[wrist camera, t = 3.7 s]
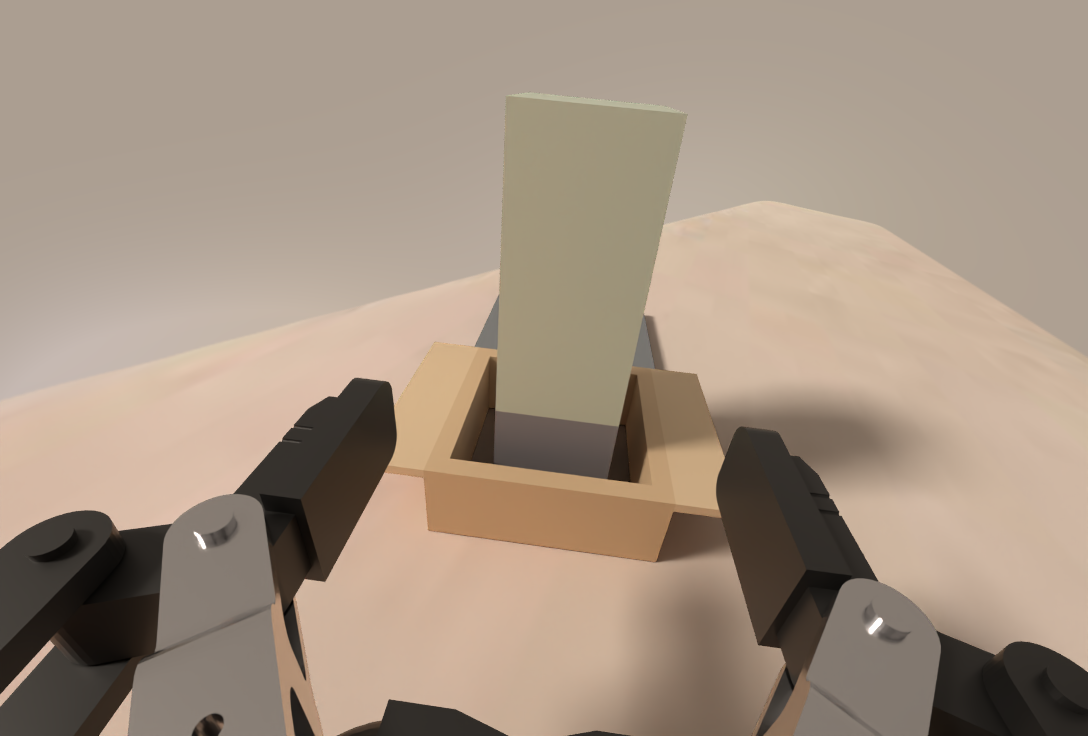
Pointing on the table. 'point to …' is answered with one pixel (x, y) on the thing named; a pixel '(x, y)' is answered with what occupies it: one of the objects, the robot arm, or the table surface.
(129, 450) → the table surface
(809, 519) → the robot arm
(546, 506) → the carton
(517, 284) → the box
